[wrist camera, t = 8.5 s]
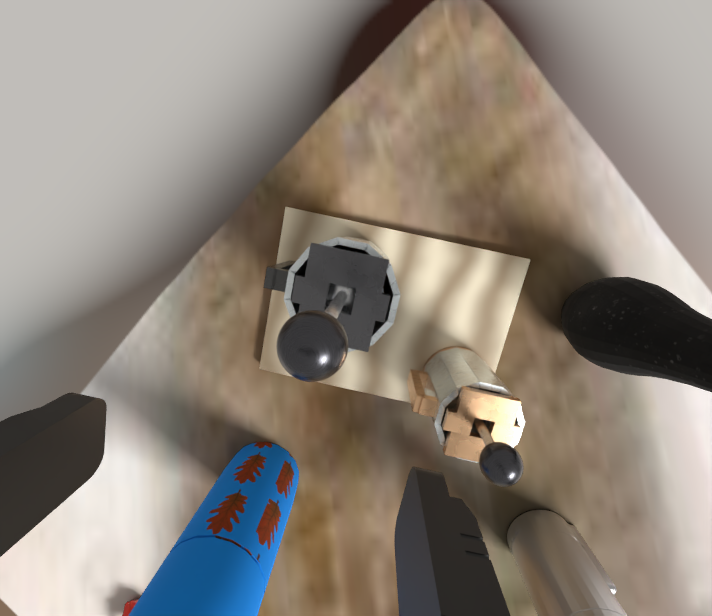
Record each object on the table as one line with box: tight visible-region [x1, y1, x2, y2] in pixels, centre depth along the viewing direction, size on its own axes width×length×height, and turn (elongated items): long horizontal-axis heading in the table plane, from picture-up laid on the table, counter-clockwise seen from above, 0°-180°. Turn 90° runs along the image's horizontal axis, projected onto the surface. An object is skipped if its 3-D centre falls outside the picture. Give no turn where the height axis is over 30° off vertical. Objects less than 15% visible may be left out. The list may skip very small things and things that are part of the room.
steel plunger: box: [276, 283, 384, 382], centre depth 25 cm, size 8×8×17 cm
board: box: [259, 207, 531, 403], centre depth 47 cm, size 31×22×2 cm
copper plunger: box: [444, 388, 523, 487], centre depth 35 cm, size 6×6×15 cm
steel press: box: [264, 237, 400, 352], centre depth 38 cm, size 13×10×15 cm
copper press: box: [407, 346, 525, 463], centre depth 41 cm, size 11×9×13 cm
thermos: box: [128, 442, 299, 616], centre depth 42 cm, size 11×11×25 cm
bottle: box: [561, 277, 712, 392], centre depth 32 cm, size 11×11×30 cm
